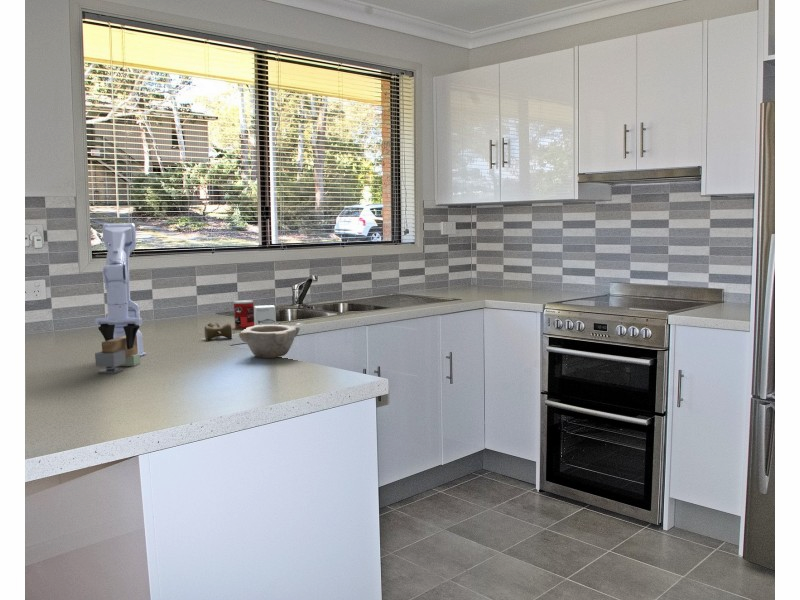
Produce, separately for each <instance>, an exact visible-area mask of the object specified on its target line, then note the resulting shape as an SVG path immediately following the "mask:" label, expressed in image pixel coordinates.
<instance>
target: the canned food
mask: <svg viewBox="0 0 800 600" xmlns="http://www.w3.org/2000/svg"><path fill="white" fill-rule="evenodd" d="M254 306H255V305H254V300H253V299H252V300H251V299H246V300H245V299H243V300H234V301H233V315H234V316H233V317H234V326H235V327H234V328H235V329H237V328H248V327H252V326H255V318H254Z"/></svg>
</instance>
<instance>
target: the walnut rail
mask: <svg viewBox="0 0 800 600" xmlns="http://www.w3.org/2000/svg"><path fill="white" fill-rule="evenodd" d="M120 350H125V358H127V357H130V356H133V355H136V354H138V349H137V335H136V336H135V340H134V345H133V348H131V349H127V342H126V335H125V336H122V337H118V338H115V339H111V340H108V341H105V340H104V341H102V342H101V351H102V353H114V352H117V351H120Z"/></svg>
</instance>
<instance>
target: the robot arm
mask: <svg viewBox="0 0 800 600" xmlns="http://www.w3.org/2000/svg"><path fill="white" fill-rule="evenodd" d="M136 231H137V230H136V225H135V224H134V222H129V223H103V225H102V239H103V243H104V247H105V249H106V251H107V253H106V260H105V262H106V263H105V266H103V268H102V275H103V277H102V278H103V282H104V286H105V287H104V288H105V289H104V290H106V302H107V303H106V305H107V315H106V316H107V317H98V318H94V325H95V326H98V328H97V329H98V330H99V332H100V333H101V335H102V337H103V339H104V342H105V341H108V340H111V339H115V338H118V337H122V336H125V335H126V342H127V349H131V348H133V345H134V340H135V336H136V335H137V349H138V354H140V357H141V356H144V355H147V352H144V341H143V339H144V338H143V334H142V332H141V331H140V327H141V325H143V317H141V311H140V306H139V304H138V303H136V302H135V301H133V300H132V299H131V285H130V260H129V259H130V254H131V252H132V251H135V250H136V246H137V241H136V240H137V234H136V233H137V232H136Z"/></svg>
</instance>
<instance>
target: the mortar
mask: <svg viewBox="0 0 800 600" xmlns="http://www.w3.org/2000/svg"><path fill="white" fill-rule="evenodd" d="M300 330H301V328H300V327H299V326H297V325H287V324H286V325H285V324H276V325H255V324H254V326H252V327H248V328H246V329H242V331H240V332H239V333H238V337H239V339H240V340H241V341H242V342H244V343H246V344H247V346H248V348H249V350H250V351H251V353H252V354H253V356H255V357H257V358H263V359H273V358H280V357H283V356H285V355H287V354H288V352H289V351H290V350H291V348H292V346H293V343H294V341H295V338H296V337H297V336H298V334H299V332H300Z"/></svg>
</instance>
